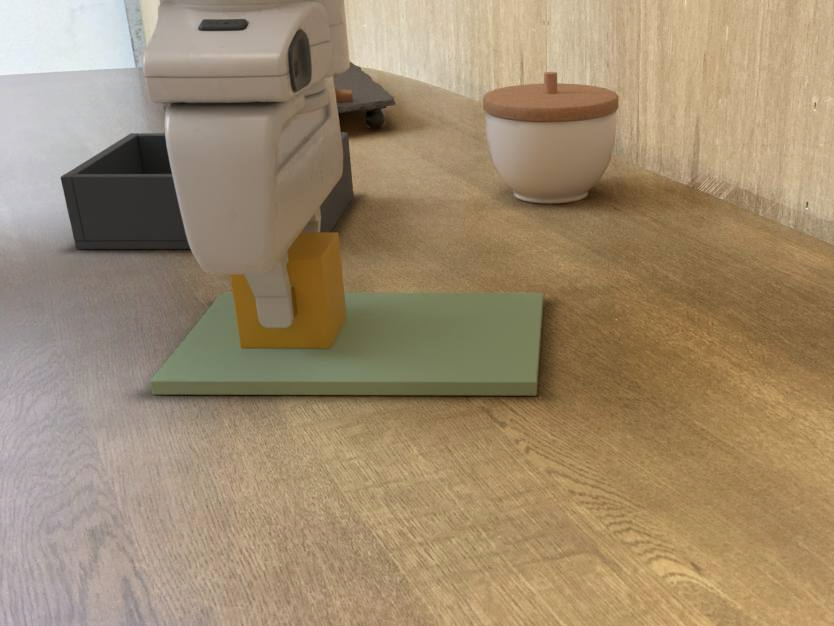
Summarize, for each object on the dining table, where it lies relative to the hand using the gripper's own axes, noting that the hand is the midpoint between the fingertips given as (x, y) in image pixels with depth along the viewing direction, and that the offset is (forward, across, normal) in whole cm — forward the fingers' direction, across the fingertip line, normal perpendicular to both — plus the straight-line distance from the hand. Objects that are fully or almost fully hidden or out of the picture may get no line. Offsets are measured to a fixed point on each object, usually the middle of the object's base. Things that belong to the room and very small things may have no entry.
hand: (292, 303), depth 64 cm
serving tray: (+3, -72, -18) cm, 74 cm away
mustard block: (+2, 0, 0) cm, 2 cm away
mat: (+2, 0, +4) cm, 5 cm away
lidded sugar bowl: (+3, -34, +14) cm, 37 cm away
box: (+2, -26, -11) cm, 28 cm away
